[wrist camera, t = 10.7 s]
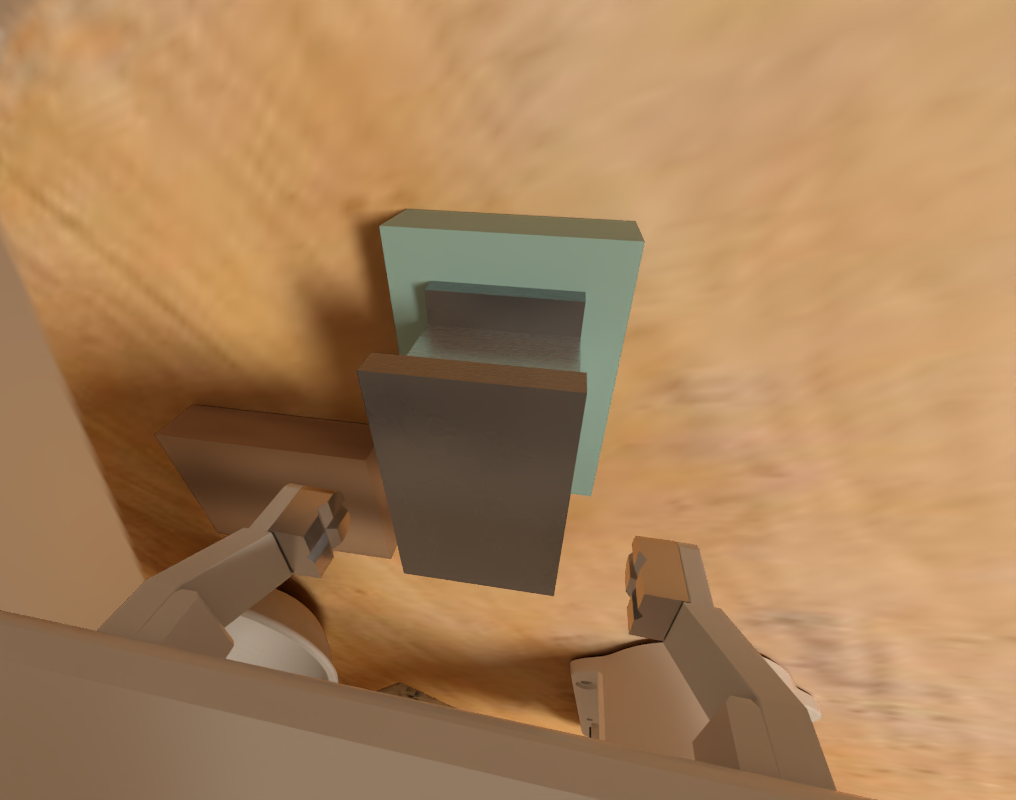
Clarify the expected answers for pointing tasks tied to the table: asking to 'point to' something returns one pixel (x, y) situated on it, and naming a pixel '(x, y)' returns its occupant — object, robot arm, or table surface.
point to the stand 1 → (279, 468)
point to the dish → (282, 638)
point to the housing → (482, 433)
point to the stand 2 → (525, 285)
